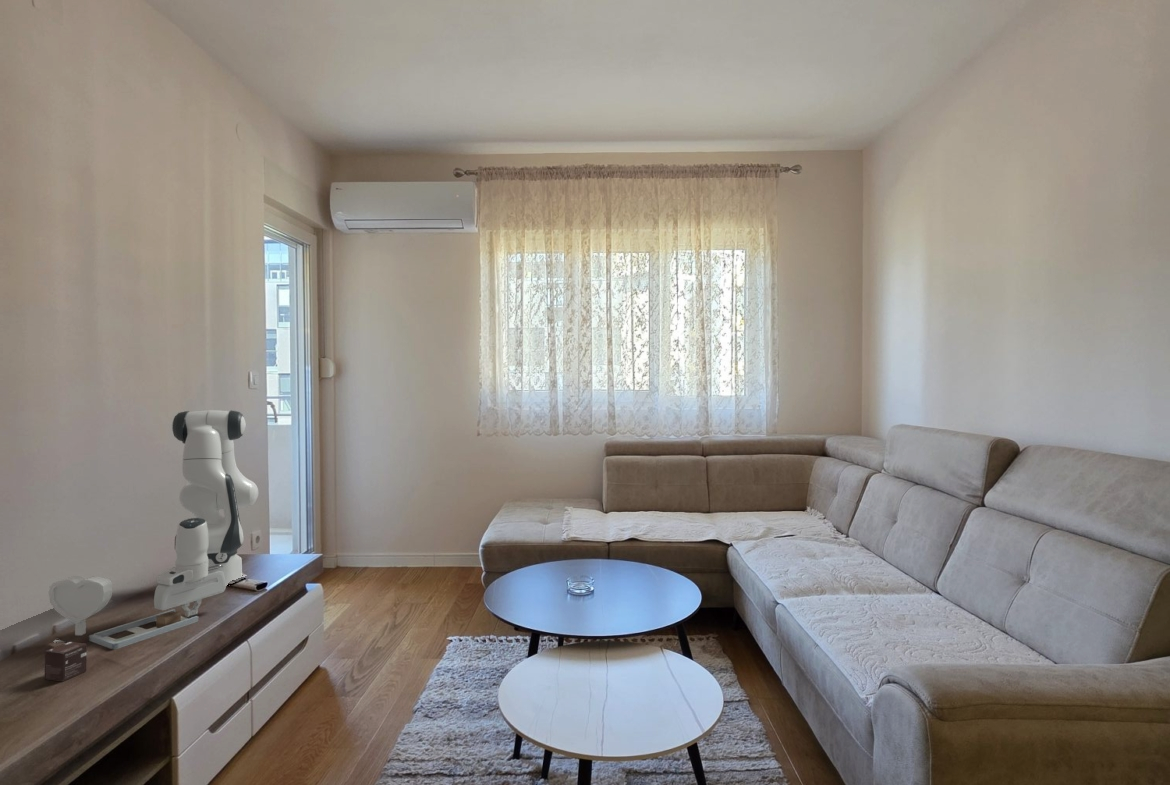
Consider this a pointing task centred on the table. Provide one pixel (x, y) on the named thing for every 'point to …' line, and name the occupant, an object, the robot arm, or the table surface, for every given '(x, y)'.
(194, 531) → the robot arm
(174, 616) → the walnut block
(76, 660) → the box
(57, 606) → the heart sculpture
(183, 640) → the table surface
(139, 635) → the track
